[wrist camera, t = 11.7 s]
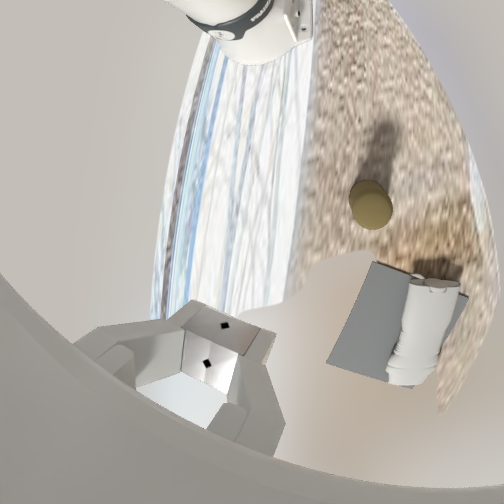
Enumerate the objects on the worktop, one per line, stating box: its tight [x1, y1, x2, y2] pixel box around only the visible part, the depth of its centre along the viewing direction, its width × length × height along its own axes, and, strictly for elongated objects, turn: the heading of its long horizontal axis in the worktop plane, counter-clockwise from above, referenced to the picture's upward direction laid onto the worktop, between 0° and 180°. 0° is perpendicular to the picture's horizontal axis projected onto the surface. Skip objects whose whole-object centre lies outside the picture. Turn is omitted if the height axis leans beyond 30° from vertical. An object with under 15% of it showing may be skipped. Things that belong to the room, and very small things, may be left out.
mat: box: [326, 262, 469, 389], centre depth 44 cm, size 22×20×1 cm
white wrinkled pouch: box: [385, 278, 461, 385], centre depth 41 cm, size 11×4×22 cm
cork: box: [349, 180, 393, 230], centre depth 35 cm, size 6×6×11 cm
